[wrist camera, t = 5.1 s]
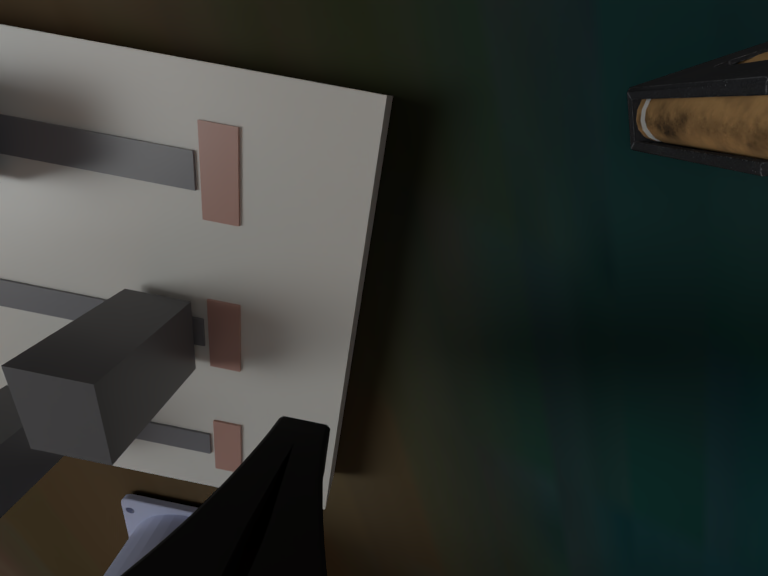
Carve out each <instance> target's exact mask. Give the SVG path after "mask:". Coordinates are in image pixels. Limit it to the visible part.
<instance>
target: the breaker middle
mask: <svg viewBox="0 0 768 576" xmlns="http://www.w3.org/2000/svg"><path fill="white" fill-rule="evenodd" d="M1 367H2V370H3V373H4V375H5V378H6V381H7V384H8V387H9V389H10V392H11V395H12V398H13V400H14V403H15V406H16V409H17V411H18V414H19V417H20V420H21V423H22V425H23V428H24V431H25V434H26V436H27V439H28V442H29V445H30V447H31V449H35V450H40V451H45V452H50V453H55V454H59V455H64V456H69V457H74V458H79V459H84V460H88V461H93V462H98V463H103V464H108V465H113V464H114V463H115V462H116V461H117V459H118V458H119V457H120V456H121V455H122V454H123V452H124V451H125V450H126V449H127V448H128V447H129V445H130V444H131V443H132V442H133V441H134V440H135V439H136V437H137V436H138V435H139V434H140V433H141V432H142V430H143V429H144V428H145V427H146V426H147V425H148V423H149V422H150V421H151V420H152V419H153V418H154V417H155V415H156V414H157V413H158V412H159V411H160V410H161V408H162V407H163V406H164V405H165V404H166V403H167V401H168V400H169V399H170V398H171V397H172V396H173V395H174V393H175V392H176V391H177V390H178V389H179V388H180V386H181V385H182V384H183V383H184V382H185V381H186V379H187V378H188V377H189V376H190V375H191V374H192V373H193V371H194V370H195V369H196V364H195V351H194V337H193V323H192V310H191V302H190V301H185V300H180V299H175V298H170V297H165V296H160V295H155V294H150V293H145V292H139V291H134V290H129V289H123V290H122V291H120V292H118V293H117V294H115V295H114V296H112V297H110V298H109V299H107V300H106V301H104V302H102V303H101V304H99V305H98V306H96V307H94V308H93V309H91V310H90V311H88V312H86V313H85V314H83V315H82V316H80V317H78V318H77V319H75V320H74V321H72V322H70V323H69V324H67V325H66V326H64V327H62V328H61V329H59V330H58V331H56V332H54V333H53V334H51V335H49V336H48V337H46V338H45V339H43V340H41V341H40V342H38V343H37V344H35V345H33V346H32V347H30V348H29V349H27V350H25V351H24V352H22V353H21V354H19V355H17V356H16V357H14V358H13V359H11V360H9V361H8V362H6V363H5V364H3V365H1Z"/></svg>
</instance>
